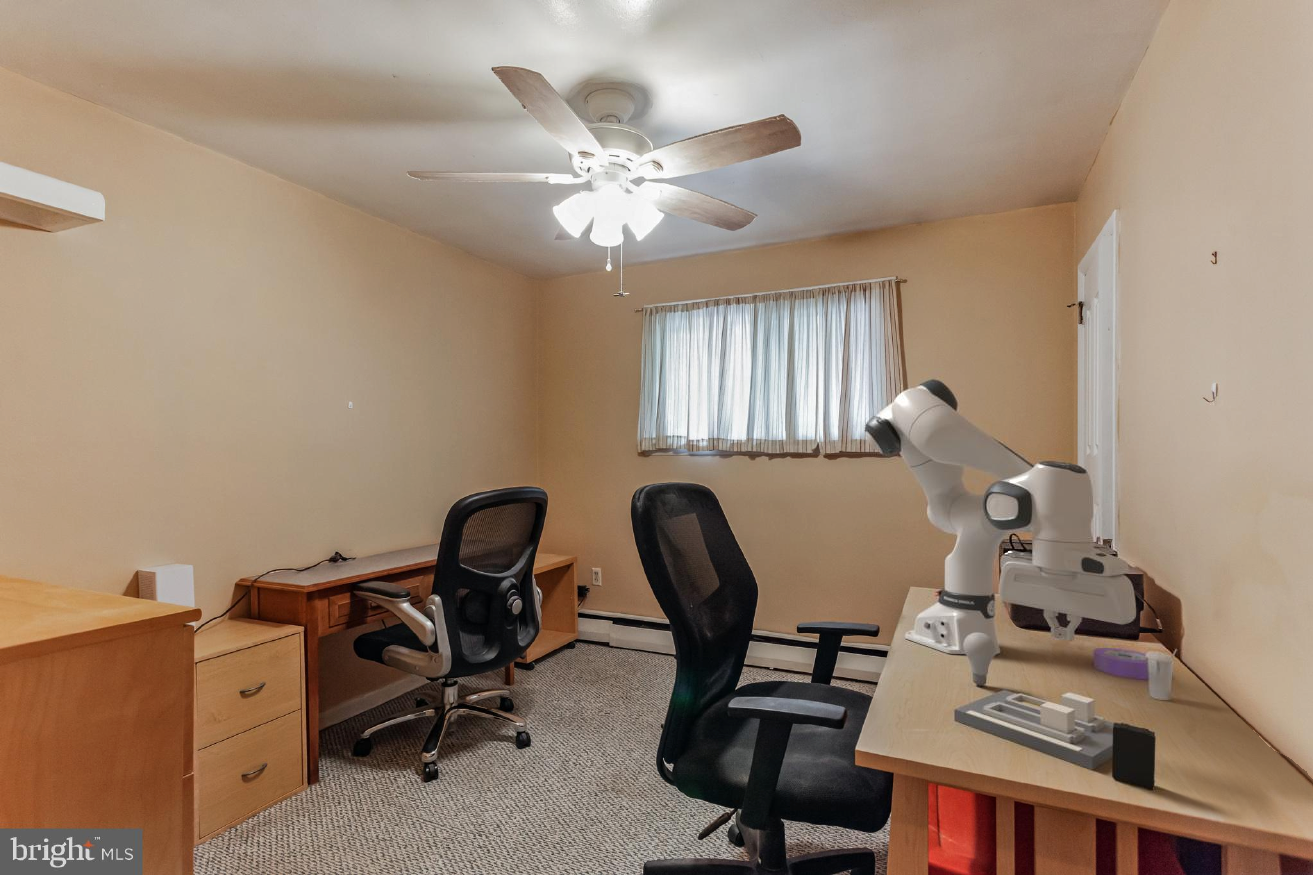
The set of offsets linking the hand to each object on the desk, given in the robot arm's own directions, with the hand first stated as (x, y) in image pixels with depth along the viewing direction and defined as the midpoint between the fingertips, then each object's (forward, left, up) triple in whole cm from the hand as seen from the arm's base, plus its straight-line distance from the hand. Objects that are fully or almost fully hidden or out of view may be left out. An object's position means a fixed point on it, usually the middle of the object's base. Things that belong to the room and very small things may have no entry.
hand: (1062, 638), depth 108 cm
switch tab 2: (0, +6, -15) cm, 16 cm away
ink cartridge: (+12, -6, -17) cm, 22 cm away
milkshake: (+2, +40, -17) cm, 43 cm away
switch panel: (-4, +2, -17) cm, 18 cm away
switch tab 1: (0, -2, -15) cm, 15 cm away
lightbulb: (-22, +15, -17) cm, 32 cm away
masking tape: (-9, +54, -18) cm, 57 cm away
